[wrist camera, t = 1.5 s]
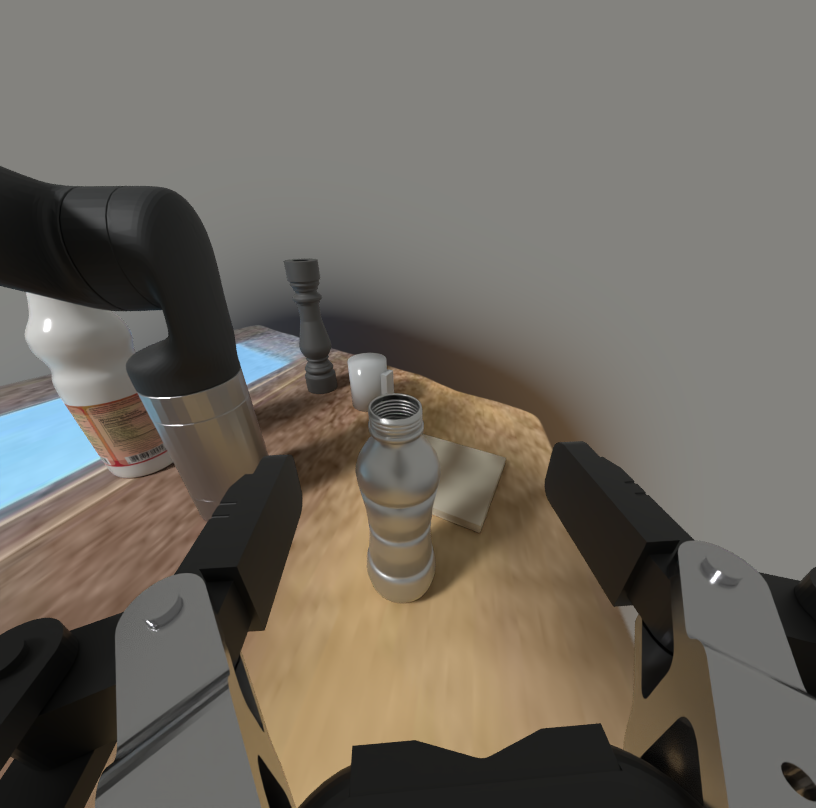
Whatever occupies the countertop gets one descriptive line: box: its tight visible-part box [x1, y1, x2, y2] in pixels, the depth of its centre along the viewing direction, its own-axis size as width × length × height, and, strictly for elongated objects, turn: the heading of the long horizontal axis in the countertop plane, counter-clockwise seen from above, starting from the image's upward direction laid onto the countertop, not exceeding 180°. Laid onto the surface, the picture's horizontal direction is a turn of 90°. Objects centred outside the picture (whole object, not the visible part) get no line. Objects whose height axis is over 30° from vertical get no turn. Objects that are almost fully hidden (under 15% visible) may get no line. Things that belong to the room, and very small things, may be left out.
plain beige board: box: [422, 434, 506, 533], centre depth 43 cm, size 15×13×1 cm
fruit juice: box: [25, 292, 173, 478], centre depth 40 cm, size 9×9×28 cm
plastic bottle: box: [356, 393, 441, 603], centre depth 26 cm, size 6×7×20 cm
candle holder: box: [284, 259, 337, 394], centre depth 61 cm, size 6×6×25 cm
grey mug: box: [348, 353, 394, 412], centre depth 59 cm, size 8×7×9 cm
